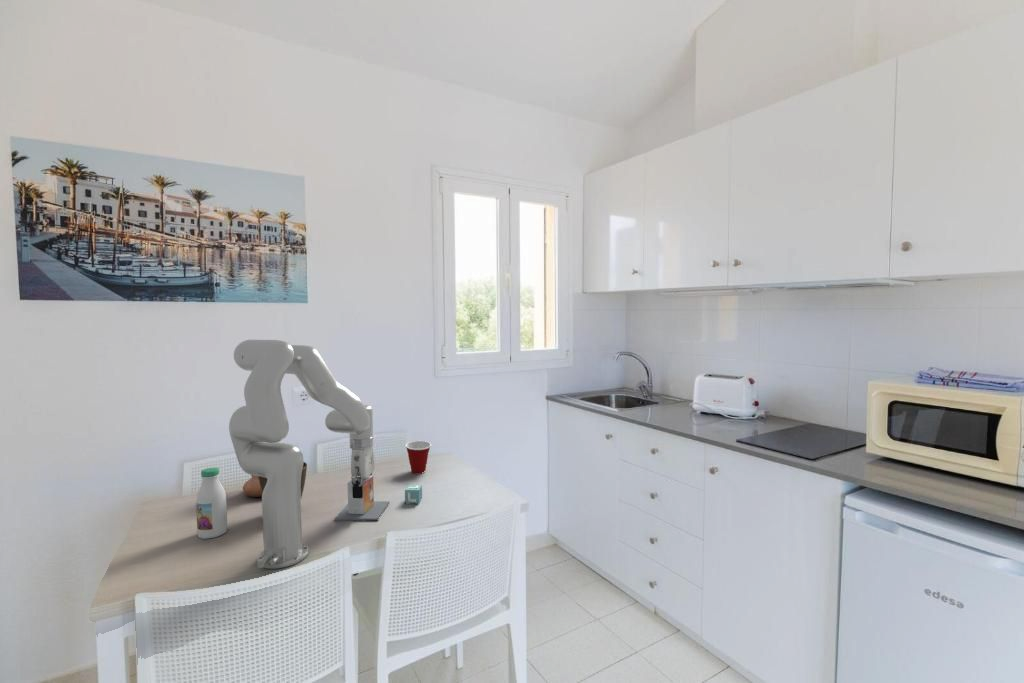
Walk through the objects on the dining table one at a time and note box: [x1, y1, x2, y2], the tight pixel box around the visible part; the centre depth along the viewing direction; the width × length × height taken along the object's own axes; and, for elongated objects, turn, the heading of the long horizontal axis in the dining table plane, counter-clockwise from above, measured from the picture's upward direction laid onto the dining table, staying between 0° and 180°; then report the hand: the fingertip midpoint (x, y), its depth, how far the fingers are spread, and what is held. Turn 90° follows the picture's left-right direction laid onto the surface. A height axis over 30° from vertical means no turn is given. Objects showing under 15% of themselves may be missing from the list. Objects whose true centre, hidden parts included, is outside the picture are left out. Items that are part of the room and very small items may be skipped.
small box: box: [347, 475, 375, 514], centre depth 159 cm, size 8×6×10 cm
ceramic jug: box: [242, 474, 262, 498], centre depth 177 cm, size 18×14×14 cm
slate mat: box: [334, 500, 390, 522], centre depth 159 cm, size 14×14×1 cm
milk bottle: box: [195, 467, 228, 540], centre depth 143 cm, size 8×8×20 cm
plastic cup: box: [405, 440, 432, 474], centre depth 200 cm, size 11×11×12 cm
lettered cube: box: [404, 484, 423, 504], centre depth 168 cm, size 5×5×5 cm
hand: (362, 492), depth 159 cm, fingers open, 9 cm apart
